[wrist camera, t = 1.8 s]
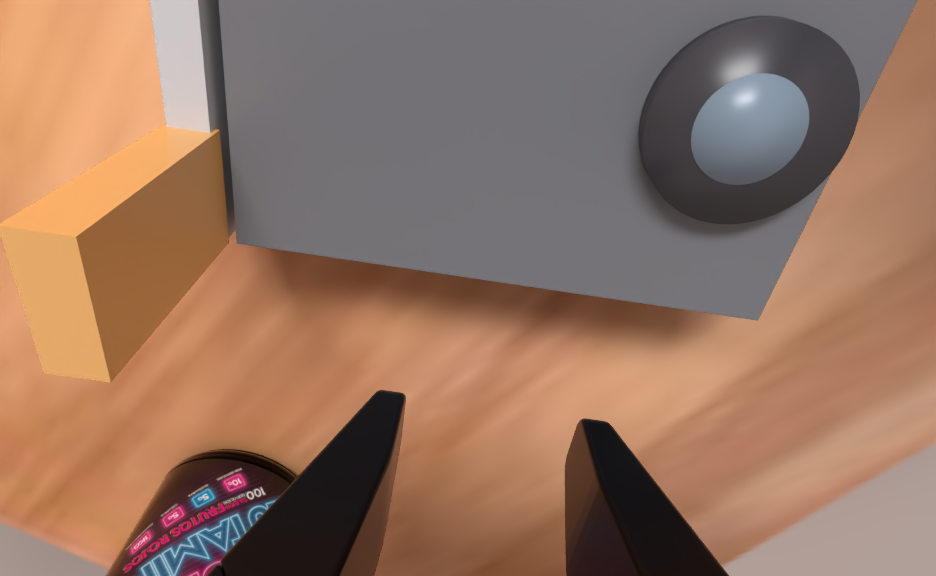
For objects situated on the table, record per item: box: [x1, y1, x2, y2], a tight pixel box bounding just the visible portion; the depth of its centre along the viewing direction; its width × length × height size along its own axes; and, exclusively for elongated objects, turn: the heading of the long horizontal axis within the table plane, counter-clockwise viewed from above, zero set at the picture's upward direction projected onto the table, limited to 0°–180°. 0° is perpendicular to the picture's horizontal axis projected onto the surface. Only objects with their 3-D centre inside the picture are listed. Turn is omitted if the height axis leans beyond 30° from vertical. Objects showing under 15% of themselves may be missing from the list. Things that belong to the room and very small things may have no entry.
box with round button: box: [219, 0, 917, 320], centre depth 14 cm, size 14×10×4 cm
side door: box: [0, 0, 236, 382], centre depth 12 cm, size 1×11×9 cm, turn 172°
